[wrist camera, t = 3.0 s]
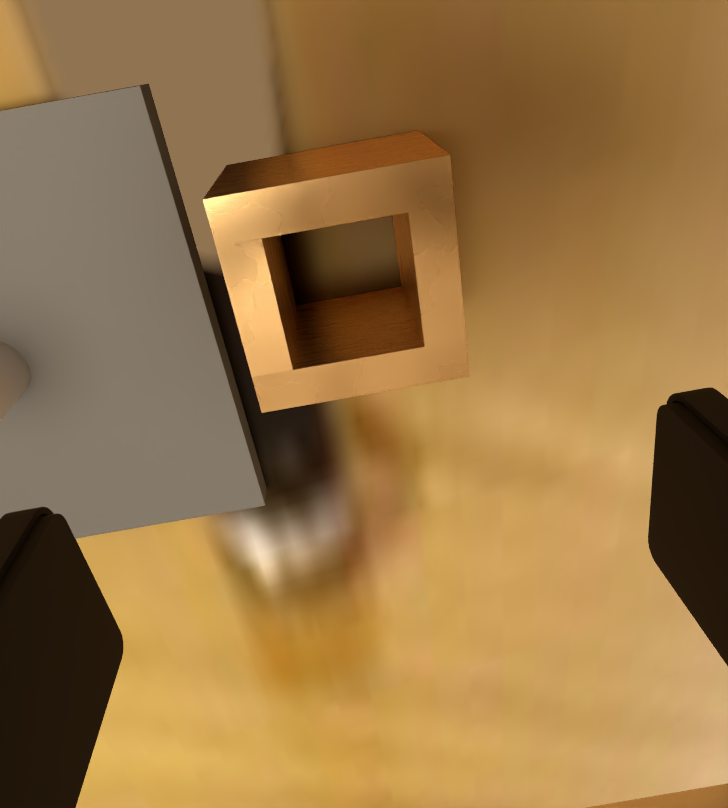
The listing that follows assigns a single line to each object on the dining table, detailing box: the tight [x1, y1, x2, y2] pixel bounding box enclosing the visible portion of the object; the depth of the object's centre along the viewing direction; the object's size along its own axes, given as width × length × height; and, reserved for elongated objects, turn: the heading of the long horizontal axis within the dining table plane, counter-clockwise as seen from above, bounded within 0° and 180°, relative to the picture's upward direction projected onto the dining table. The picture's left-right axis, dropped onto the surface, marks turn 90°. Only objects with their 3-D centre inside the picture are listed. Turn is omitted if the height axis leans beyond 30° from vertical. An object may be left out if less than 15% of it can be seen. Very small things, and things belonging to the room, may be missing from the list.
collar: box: [203, 131, 469, 413], centre depth 20 cm, size 6×6×6 cm
